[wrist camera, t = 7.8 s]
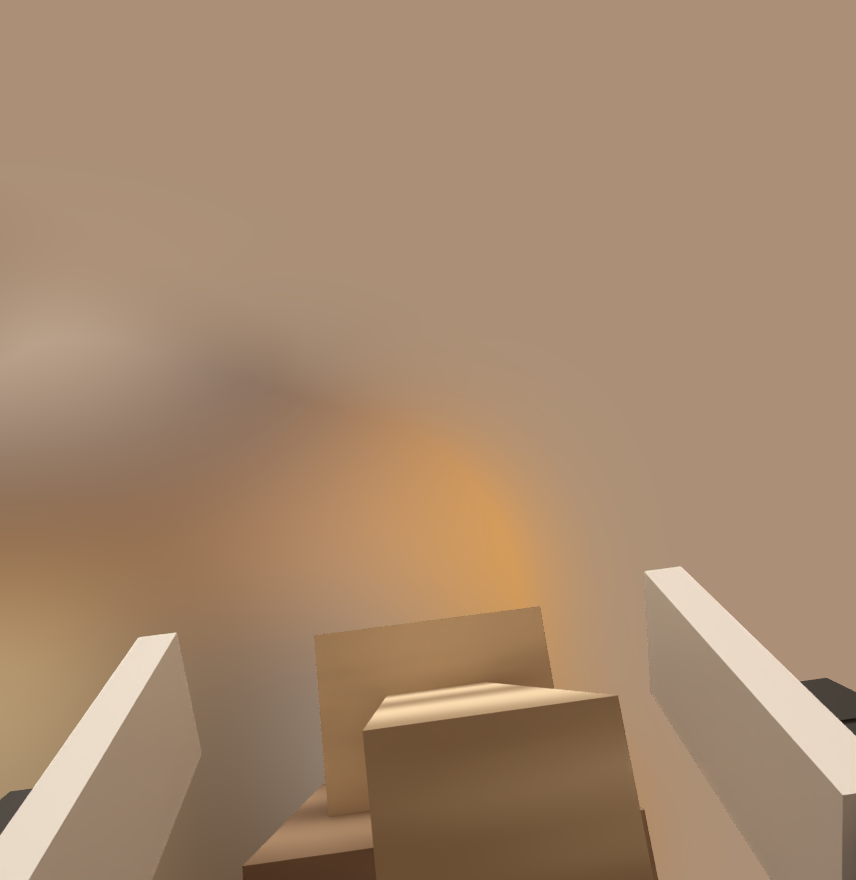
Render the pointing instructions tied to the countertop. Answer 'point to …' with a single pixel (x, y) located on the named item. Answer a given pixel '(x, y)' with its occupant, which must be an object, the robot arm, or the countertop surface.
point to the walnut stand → (329, 846)
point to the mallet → (476, 754)
